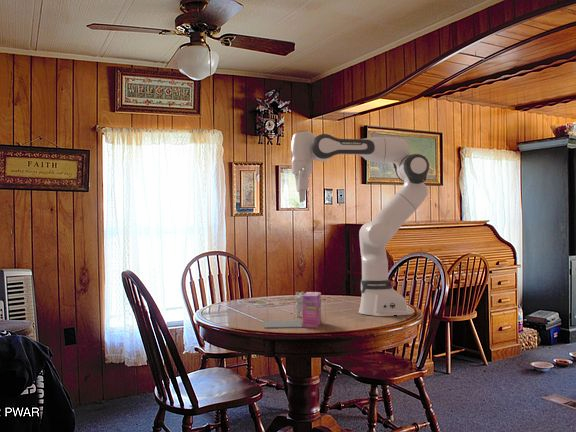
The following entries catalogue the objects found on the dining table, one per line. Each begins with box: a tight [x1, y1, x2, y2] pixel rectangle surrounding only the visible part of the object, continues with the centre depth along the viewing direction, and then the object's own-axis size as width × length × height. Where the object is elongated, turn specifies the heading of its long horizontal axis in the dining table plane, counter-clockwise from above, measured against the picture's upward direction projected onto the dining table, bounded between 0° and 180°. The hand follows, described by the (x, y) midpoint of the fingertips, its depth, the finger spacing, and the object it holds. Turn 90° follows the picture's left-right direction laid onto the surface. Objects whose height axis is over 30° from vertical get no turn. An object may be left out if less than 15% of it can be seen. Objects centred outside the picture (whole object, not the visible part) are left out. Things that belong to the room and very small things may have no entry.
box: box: [301, 291, 322, 329], centre depth 195 cm, size 10×6×12 cm, turn 168°
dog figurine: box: [294, 291, 306, 318], centre depth 214 cm, size 5×13×11 cm, turn 162°
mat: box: [264, 320, 303, 329], centre depth 196 cm, size 14×12×1 cm
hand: (302, 201), depth 220 cm, fingers open, 8 cm apart
